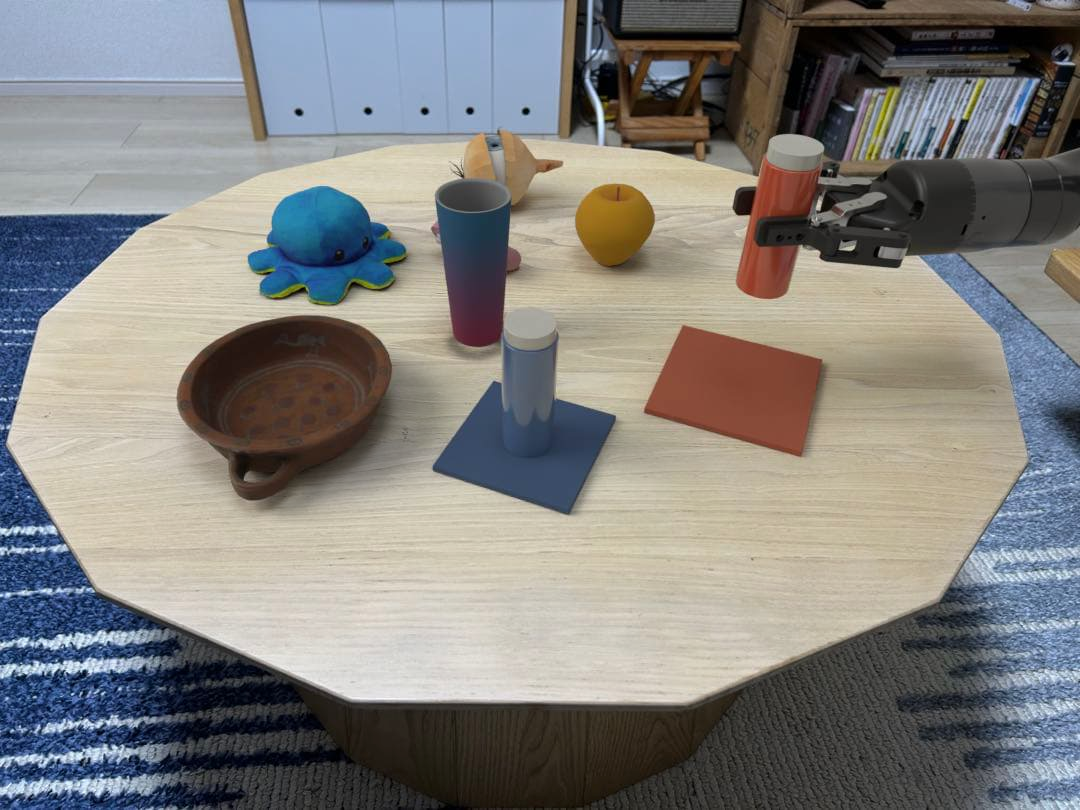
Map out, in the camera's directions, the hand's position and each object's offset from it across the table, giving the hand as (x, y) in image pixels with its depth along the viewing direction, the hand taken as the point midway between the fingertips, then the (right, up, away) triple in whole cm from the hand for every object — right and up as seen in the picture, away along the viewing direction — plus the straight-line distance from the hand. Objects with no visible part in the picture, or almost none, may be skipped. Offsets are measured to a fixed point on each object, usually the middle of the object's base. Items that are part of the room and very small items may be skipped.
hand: (746, 216), depth 60 cm
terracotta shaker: (+2, -5, +5) cm, 7 cm away
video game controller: (-24, +1, +28) cm, 36 cm away
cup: (-23, -7, +18) cm, 30 cm away
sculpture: (-21, +11, +39) cm, 46 cm away
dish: (-38, -16, +8) cm, 42 cm away
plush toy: (-40, +1, +27) cm, 48 cm away
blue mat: (-17, -18, +6) cm, 26 cm away
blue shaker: (-17, -18, +5) cm, 25 cm away
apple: (-8, +2, +29) cm, 30 cm away
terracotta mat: (+2, -13, +12) cm, 18 cm away
